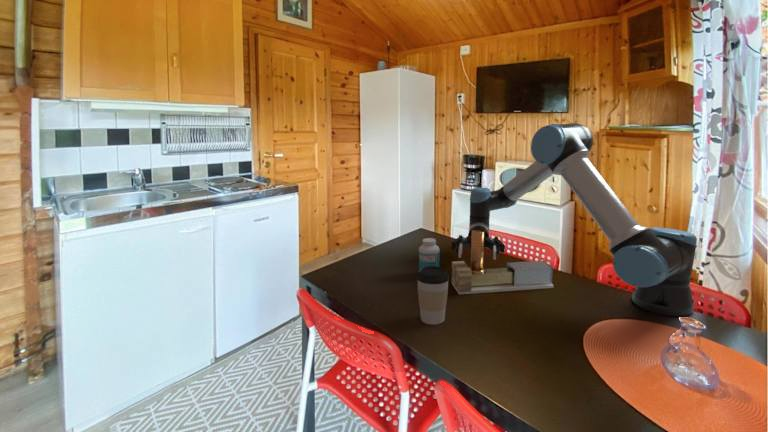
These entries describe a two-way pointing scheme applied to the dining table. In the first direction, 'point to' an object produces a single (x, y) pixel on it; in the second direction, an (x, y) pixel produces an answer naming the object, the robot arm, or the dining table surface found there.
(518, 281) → the sleeve
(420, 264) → the pill bottle
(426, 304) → the coffee cup
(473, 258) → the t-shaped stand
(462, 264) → the socket
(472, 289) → the bed
